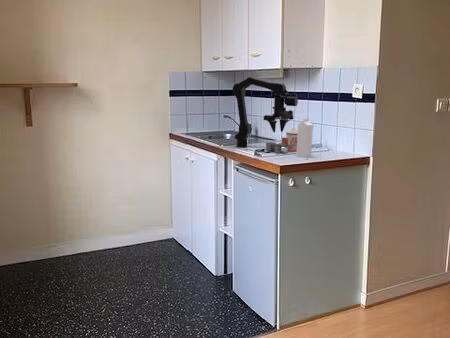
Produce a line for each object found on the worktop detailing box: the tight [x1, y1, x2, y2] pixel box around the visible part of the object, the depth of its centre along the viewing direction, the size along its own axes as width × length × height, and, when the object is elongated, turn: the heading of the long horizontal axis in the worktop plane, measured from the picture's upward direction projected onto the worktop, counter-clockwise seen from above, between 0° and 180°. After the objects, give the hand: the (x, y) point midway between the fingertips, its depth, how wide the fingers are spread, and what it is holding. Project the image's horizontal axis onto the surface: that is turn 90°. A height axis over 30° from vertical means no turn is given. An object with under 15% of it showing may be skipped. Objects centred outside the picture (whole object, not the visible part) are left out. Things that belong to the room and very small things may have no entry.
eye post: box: [274, 142, 289, 155], centre depth 265 cm, size 2×8×5 cm, turn 126°
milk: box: [296, 118, 314, 160], centre depth 256 cm, size 6×6×22 cm
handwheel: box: [281, 137, 297, 153], centre depth 274 cm, size 12×9×7 cm
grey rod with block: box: [265, 141, 288, 152], centre depth 268 cm, size 15×4×4 cm, turn 36°
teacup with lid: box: [285, 127, 298, 147], centre depth 296 cm, size 12×9×12 cm
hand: (277, 132), depth 272 cm, fingers open, 6 cm apart
